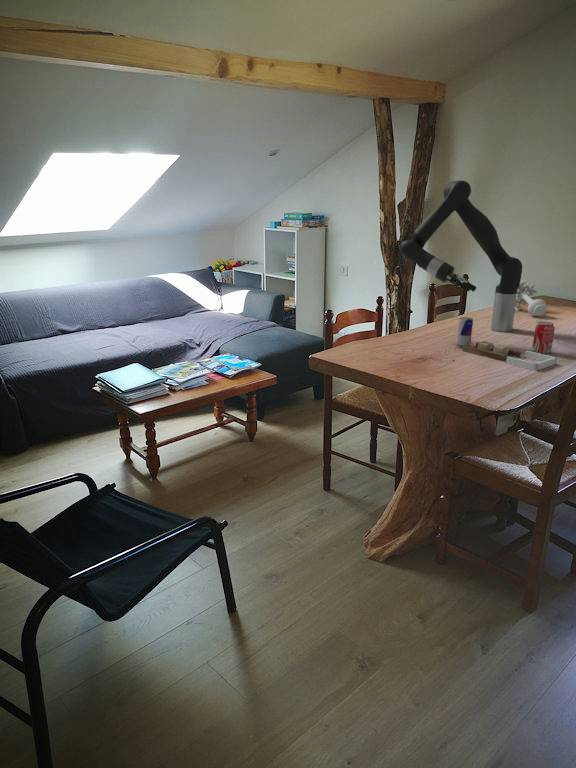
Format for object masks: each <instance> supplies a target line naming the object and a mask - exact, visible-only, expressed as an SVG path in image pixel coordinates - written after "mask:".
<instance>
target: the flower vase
mask: <svg viewBox="0 0 576 768" xmlns="http://www.w3.org/2000/svg"><path fill="white" fill-rule="evenodd" d="M527 281H528V278H527V279H525V280H520V285H519V288H518V289H517V294H516V302H515V312H520V311H522V312H526V309H525V308H524V307H522V306H525V305H526V303H527V304H528V305H527V313H528V315H529V316H531V317H541V316H543V315H544V314H545V313H546V311H547V303H546V301H544V300H543V299H541V298H539V299H533V298H532V296H533V294H536V293H538V291H537V290H536V289H534V287H535V283H531V284H530V283H529V282H527ZM525 284H526V285H525ZM524 285H525V286H524ZM517 302H519V303H518V306H517ZM521 305H522V306H521Z"/></svg>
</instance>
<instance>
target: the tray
mask: <svg viewBox="0 0 576 768" xmlns="http://www.w3.org/2000/svg"><path fill="white" fill-rule="evenodd" d="M526 357H527V358H526ZM524 358H526V359H530V358H531V359H530V360H534V359H535V360H534V361H537V362H532V361H529V360H523V359H520V358H517V357H513V356H509V355H508V357H507V359H506V361H505V363H506V364H507V363H509V364H508V365H511V364H513V365H512V366H515V365H517V366H516V367H519V366H520V368H522V367H524V369H526V368H527V369H526V370H530V369H531V370H530V371H534V370H535V372H537V371H539V370H543V369H545V368H548V367H549V368H550V367H552V366H554V365H556V364H557V361H558V357H557V356H556V357H555V356H551V355H547V354H539V353H535V352H534V351H530V350H526V351H525V354H524ZM538 360H539V361H538Z"/></svg>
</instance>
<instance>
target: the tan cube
mask: <svg viewBox="0 0 576 768" xmlns="http://www.w3.org/2000/svg"><path fill="white" fill-rule="evenodd" d="M478 342H479V343H478V348H479V349H483V350H487V351H491V352H493V351H492V346H493V345H494V343H493V342H490V341H486V340H482V341H478Z"/></svg>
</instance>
